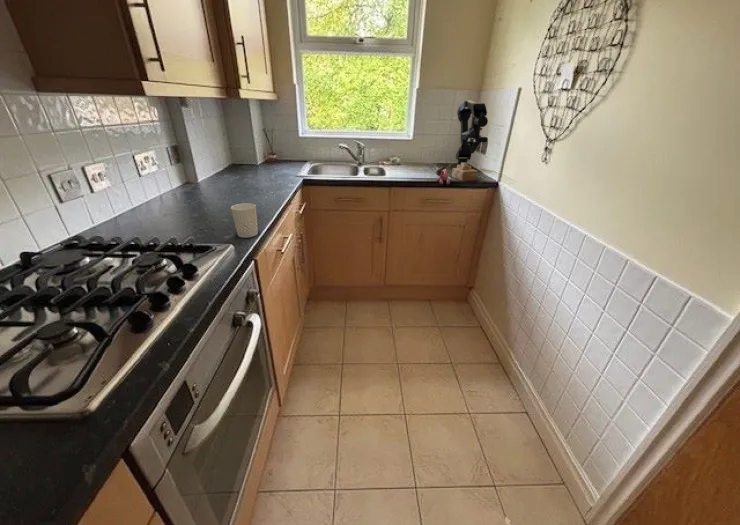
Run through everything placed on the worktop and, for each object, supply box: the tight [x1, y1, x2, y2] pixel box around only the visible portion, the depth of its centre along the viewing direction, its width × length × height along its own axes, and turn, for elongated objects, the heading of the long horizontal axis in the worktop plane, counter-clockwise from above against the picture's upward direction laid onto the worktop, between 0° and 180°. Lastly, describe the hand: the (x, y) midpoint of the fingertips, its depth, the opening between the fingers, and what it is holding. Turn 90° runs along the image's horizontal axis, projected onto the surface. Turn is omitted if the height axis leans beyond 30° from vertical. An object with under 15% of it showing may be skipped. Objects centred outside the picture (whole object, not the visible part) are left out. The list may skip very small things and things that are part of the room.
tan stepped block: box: [451, 164, 479, 182], centre depth 196 cm, size 12×10×7 cm
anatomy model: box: [434, 161, 454, 185], centre depth 186 cm, size 10×14×15 cm
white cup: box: [230, 202, 259, 239], centre depth 113 cm, size 8×8×10 cm
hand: (472, 153), depth 204 cm, fingers closed
